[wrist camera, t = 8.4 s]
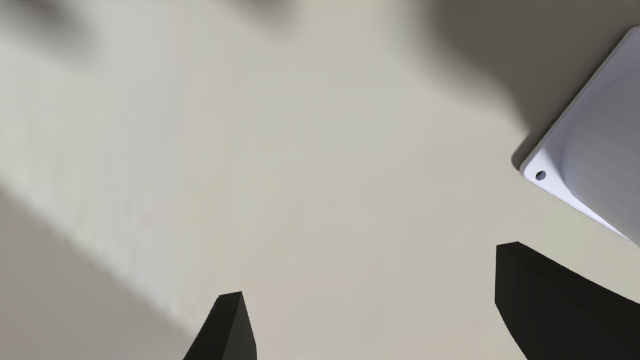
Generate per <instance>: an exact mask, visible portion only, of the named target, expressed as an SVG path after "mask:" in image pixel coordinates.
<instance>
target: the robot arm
mask: <svg viewBox="0 0 640 360" xmlns="http://www.w3.org/2000/svg"><path fill="white" fill-rule="evenodd" d="M539 171H542V173H541V175H539V176H538V177H536V174H537V173H538V172H539ZM520 174H521V175H522V176H523V177H524V178H525V179H527V180H528V181H530V182H532V183H533V184H535V185H537V186H538V187H540V188H542V189H543V190H545V191H547V192H548V193H550V194H552V195H553V196H555V197H557V198H558V199H560V200H562V201H563V202H565V203H567V204H569V205H570V206H572V207H574V208H575V209H577V210H579V211H580V212H582V213H584V214H585V215H587V216H589V217H590V218H592V219H594V220H595V221H597V222H599V223H600V224H602V225H604V226H605V227H607V228H609V229H610V230H612V231H614V232H615V233H617V234H619V235H620V236H622V237H624V238H625V239H627V240H629V241H631V242H632V243H634V244H636V245H637V246H639V247H640V26H635V27H633V28H631V29H630V30H629V31H628V32H627V33H626V35H625V36H624V37H623V38H622V40H621V41H620V42H619V43H618V45H617V46H616V47H615V48H614V50H613V51H612V52H611V53H610V55H609V56H608V57H607V58H606V60H605V61H604V62H603V63H602V65H601V66H600V67H599V68H598V70H597V71H596V72H595V73H594V75H593V76H592V77H591V78H590V80H589V81H588V82H587V83H586V85H585V86H584V87H583V88H582V90H581V91H580V92H579V93H578V95H577V96H576V97H575V98H574V99H573V101H572V102H571V103H570V104H569V106H568V107H567V108H566V109H565V111H564V112H563V113H562V114H561V116H560V117H559V118H558V119H557V121H556V122H555V123H554V124H553V126H552V127H551V128H550V129H549V131H548V132H547V133H546V134H545V136H544V137H543V138H542V139H541V141H540V142H539V143H538V144H537V146H536V147H535V148H534V149H533V151H532V152H531V153H530V154H529V156H528V157H527V158H526V159H525V161H524V162H523V163H522V165H521V166H520ZM495 304H496V306H497V308H498V310H499V312H500V314H501V316H502V319H503V321H504V322H505V324H506V326H507V328H508V330H509V332H510V334H511V335H512V337H513V339H514V340H515V342H516V343H517V345H518V346H519V348H520V349H521V351H522V352H523V354H524V355H525V357H526V358H527V359H528V360H640V304H638V303H636V302H634V301H632V300H629V299H627V298H625V297H623V296H621V295H619V294H617V293H614V292H612V291H610V290H608V289H606V288H604V287H602V286H600V285H598V284H596V283H594V282H592V281H590V280H588V279H586V278H584V277H582V276H581V275H579V274H577V273H575V272H573V271H571V270H569V269H568V268H566V267H564V266H562V265H560V264H558V263H557V262H555V261H553V260H551V259H549V258H548V257H546V256H544V255H542V254H540V253H539V252H537V251H535V250H533V249H531V248H530V247H528V246H526V245H524V244H522V243H520V242H518V241H517V242H512V243H506V244H501V245H497V246H496V276H495ZM183 360H257V350H256V343H255V339H254V336H253V332H252V328H251V324H250V321H249V317H248V313H247V309H246V306H245V302H244V298H243V294H242V291H240V292H234V293H229V294H223V295H219V297H218V298H217V299H216V301H215V303H214V305H213V307H212V309H211V311H210V313H209V315H208V317H207V319H206V321H205V322H204V324H203V326H202V328H201V330H200V332H199V333H198V335H197V337H196V339H195V340H194V342H193V344H192V345H191V347H190V349H189V350H188V352H187V354H186V355H185V357H184V359H183Z"/></svg>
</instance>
